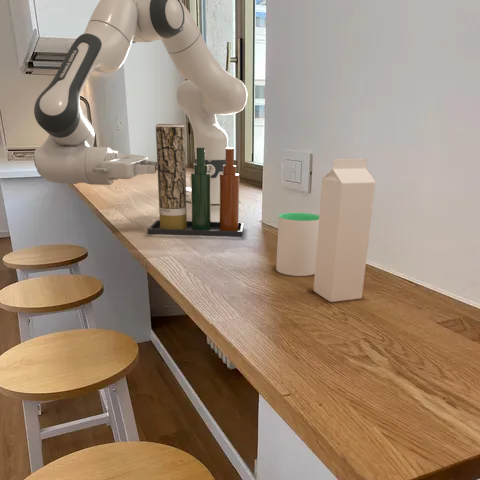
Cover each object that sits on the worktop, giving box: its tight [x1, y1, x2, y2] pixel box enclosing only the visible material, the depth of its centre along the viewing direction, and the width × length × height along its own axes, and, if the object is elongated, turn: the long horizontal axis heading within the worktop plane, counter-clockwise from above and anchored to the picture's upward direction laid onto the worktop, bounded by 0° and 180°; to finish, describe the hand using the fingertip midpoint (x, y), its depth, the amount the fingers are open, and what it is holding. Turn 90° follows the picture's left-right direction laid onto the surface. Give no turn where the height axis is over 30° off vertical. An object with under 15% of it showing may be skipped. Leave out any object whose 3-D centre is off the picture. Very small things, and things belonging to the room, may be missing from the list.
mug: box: [275, 212, 319, 277], centre depth 96 cm, size 12×8×10 cm, turn 109°
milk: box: [312, 158, 376, 303], centre depth 79 cm, size 6×6×22 cm
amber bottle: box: [218, 147, 240, 231], centre depth 122 cm, size 5×5×20 cm
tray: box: [146, 219, 245, 238], centre depth 126 cm, size 11×23×2 cm, turn 88°
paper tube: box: [155, 123, 188, 230], centre depth 121 cm, size 7×7×25 cm
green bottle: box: [190, 147, 212, 230], centre depth 122 cm, size 5×5×20 cm
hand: (159, 167), depth 120 cm, fingers open, 8 cm apart
